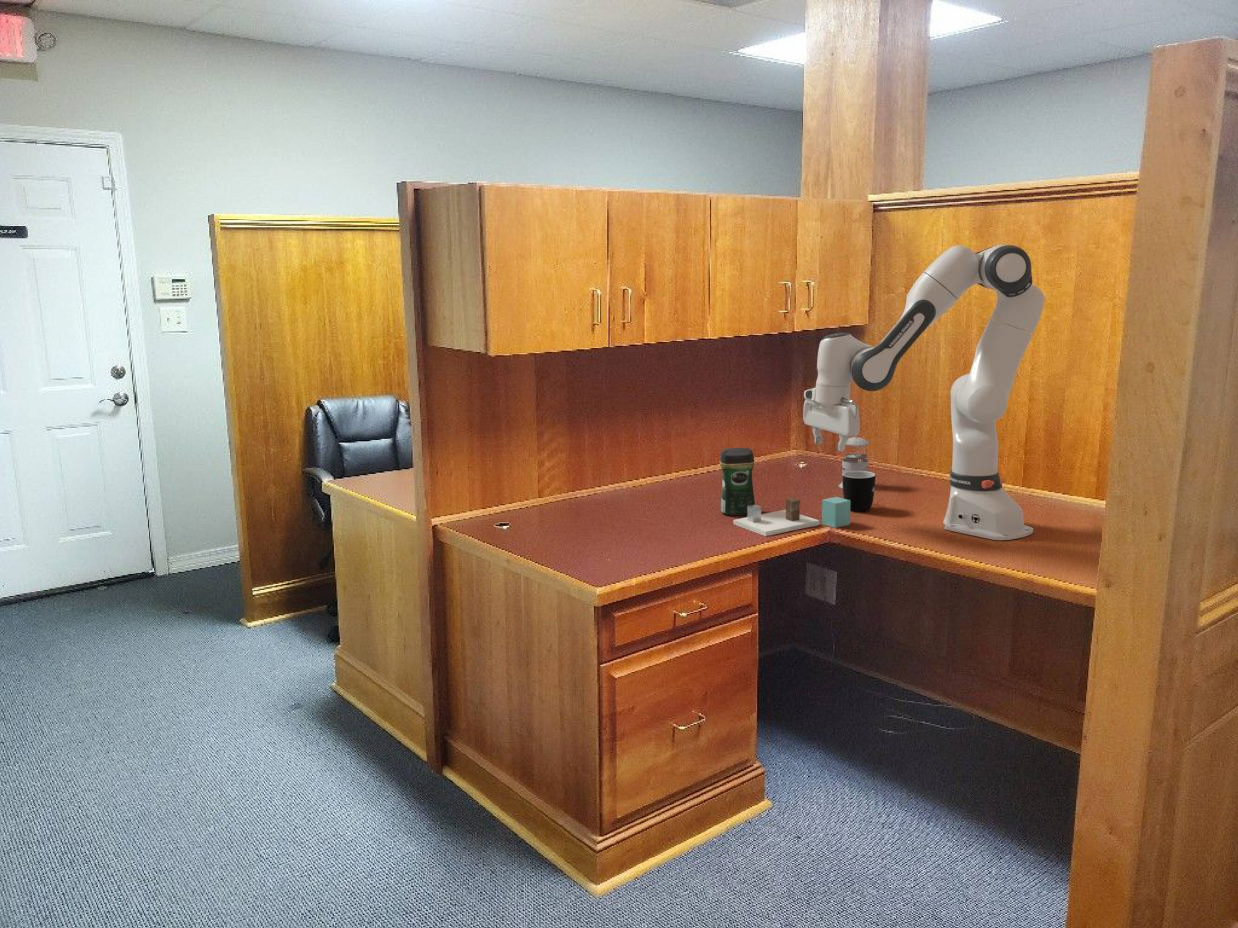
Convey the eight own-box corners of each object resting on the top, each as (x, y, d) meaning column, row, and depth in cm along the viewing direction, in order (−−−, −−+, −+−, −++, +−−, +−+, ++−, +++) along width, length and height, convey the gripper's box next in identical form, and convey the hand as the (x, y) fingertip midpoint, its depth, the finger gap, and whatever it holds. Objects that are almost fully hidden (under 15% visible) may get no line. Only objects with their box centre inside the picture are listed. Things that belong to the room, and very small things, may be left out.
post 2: (799, 519, 261) (799, 499, 259) (791, 521, 259) (792, 501, 258) (793, 517, 263) (793, 497, 262) (785, 519, 262) (785, 499, 260)
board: (819, 524, 259) (819, 520, 259) (765, 536, 251) (765, 531, 251) (785, 513, 271) (785, 509, 271) (733, 524, 263) (733, 519, 263)
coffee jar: (751, 508, 278) (751, 444, 275) (757, 515, 271) (757, 450, 267) (718, 509, 278) (717, 446, 274) (723, 517, 270) (722, 451, 266)
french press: (833, 487, 298) (834, 407, 293) (847, 480, 308) (848, 401, 303) (864, 491, 293) (866, 409, 288) (877, 483, 303) (879, 403, 297)
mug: (877, 513, 269) (878, 477, 267) (844, 513, 269) (844, 478, 267) (869, 502, 280) (870, 468, 278) (838, 502, 281) (838, 468, 279)
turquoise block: (850, 524, 259) (850, 500, 257) (835, 527, 256) (835, 503, 255) (836, 520, 263) (837, 496, 262) (821, 523, 261) (822, 499, 259)
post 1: (761, 521, 261) (761, 506, 260) (753, 522, 259) (753, 508, 258) (755, 518, 263) (755, 504, 262) (747, 520, 262) (747, 506, 261)
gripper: (867, 400, 246) (863, 454, 249) (819, 389, 264) (816, 439, 267) (847, 402, 243) (843, 456, 246) (800, 390, 261) (797, 441, 264)
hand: (829, 447), depth 257 cm, fingers open, 8 cm apart
